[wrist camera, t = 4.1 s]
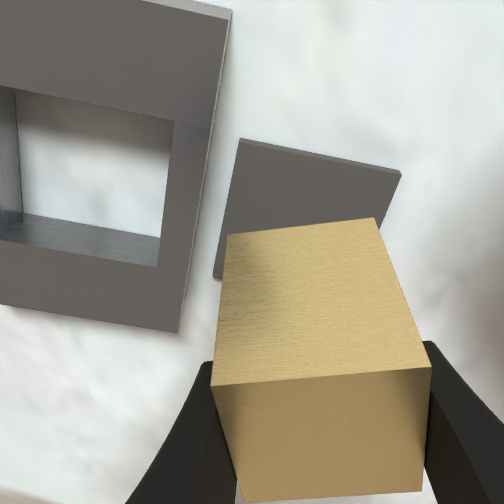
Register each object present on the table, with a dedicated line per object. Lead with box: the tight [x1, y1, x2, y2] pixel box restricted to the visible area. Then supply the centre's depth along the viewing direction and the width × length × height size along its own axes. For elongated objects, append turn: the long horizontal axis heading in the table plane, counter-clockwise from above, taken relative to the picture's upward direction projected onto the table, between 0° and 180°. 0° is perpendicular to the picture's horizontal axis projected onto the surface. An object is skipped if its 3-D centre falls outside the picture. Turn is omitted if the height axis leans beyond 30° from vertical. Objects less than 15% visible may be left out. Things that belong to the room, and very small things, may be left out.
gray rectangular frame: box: [0, 0, 232, 333], centre depth 17 cm, size 8×12×2 cm, turn 168°
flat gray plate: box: [213, 138, 402, 278], centre depth 19 cm, size 6×6×1 cm
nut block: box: [211, 217, 432, 503], centre depth 14 cm, size 4×4×6 cm
